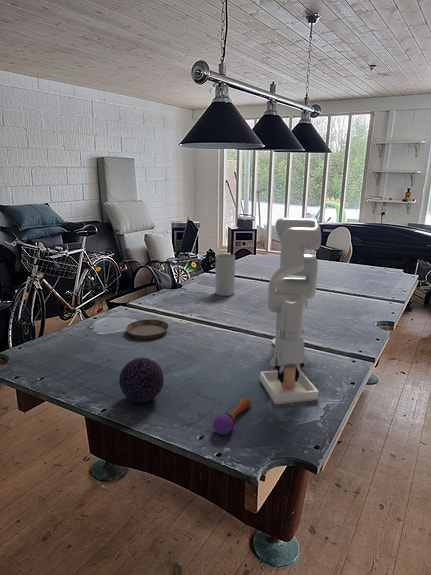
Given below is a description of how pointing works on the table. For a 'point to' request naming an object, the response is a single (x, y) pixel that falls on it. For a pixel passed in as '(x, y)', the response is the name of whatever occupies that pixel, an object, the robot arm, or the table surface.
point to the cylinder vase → (225, 274)
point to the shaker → (289, 376)
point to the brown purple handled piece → (229, 418)
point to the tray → (288, 389)
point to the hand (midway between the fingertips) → (288, 380)
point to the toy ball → (141, 380)
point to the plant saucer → (147, 328)
